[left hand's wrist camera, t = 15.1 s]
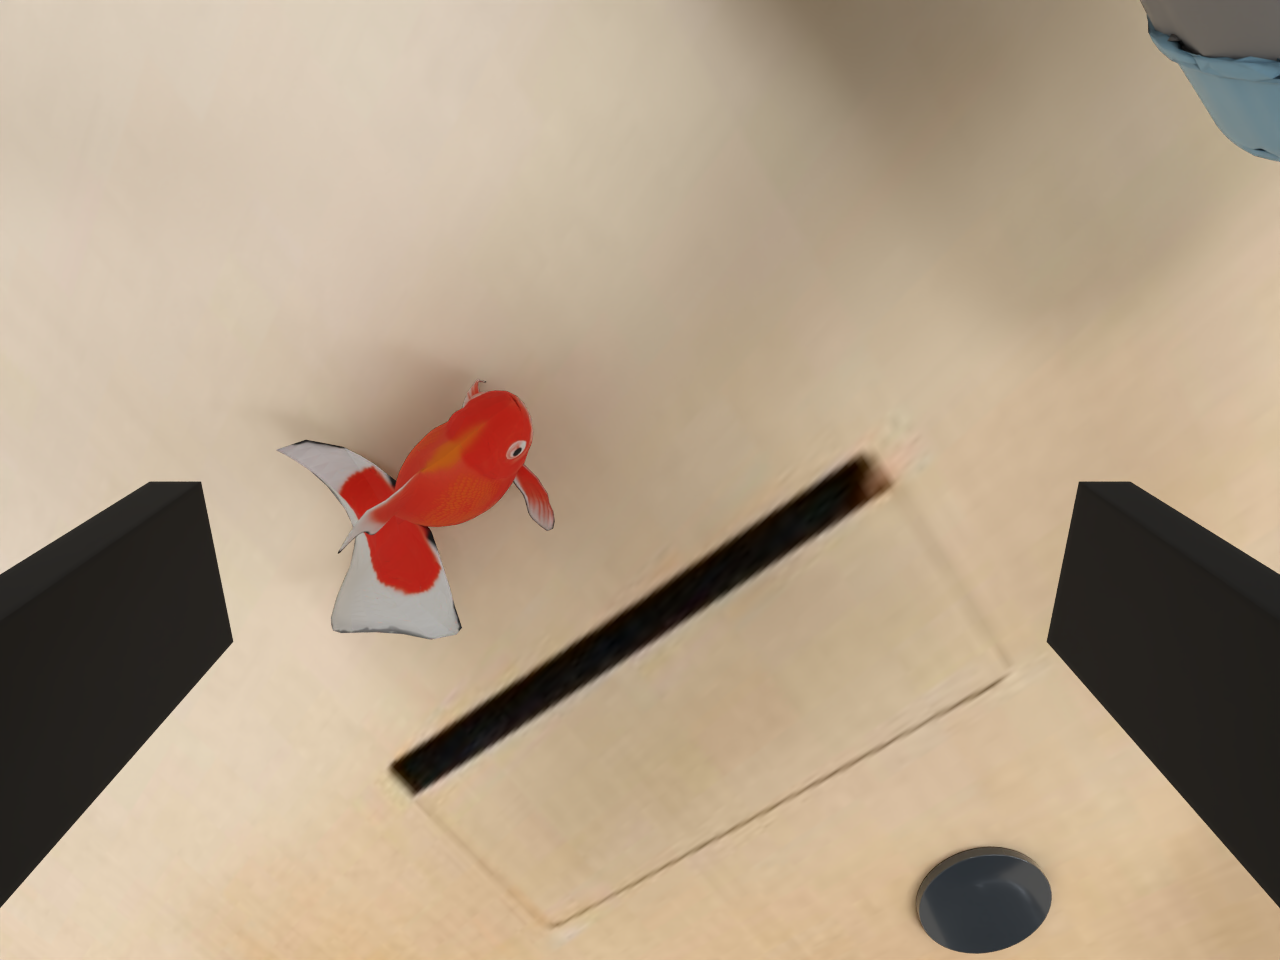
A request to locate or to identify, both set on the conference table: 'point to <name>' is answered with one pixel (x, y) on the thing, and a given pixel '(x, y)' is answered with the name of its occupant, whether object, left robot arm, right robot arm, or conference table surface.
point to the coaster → (983, 900)
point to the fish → (423, 511)
